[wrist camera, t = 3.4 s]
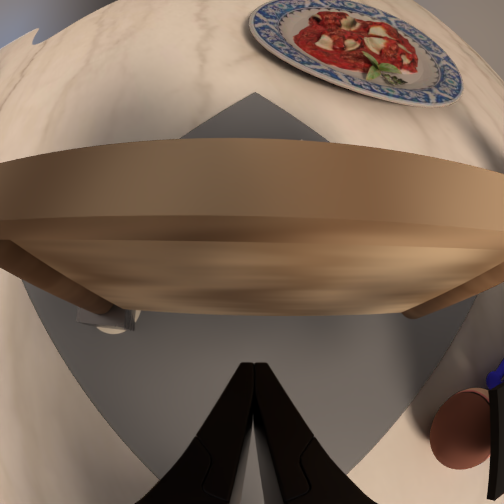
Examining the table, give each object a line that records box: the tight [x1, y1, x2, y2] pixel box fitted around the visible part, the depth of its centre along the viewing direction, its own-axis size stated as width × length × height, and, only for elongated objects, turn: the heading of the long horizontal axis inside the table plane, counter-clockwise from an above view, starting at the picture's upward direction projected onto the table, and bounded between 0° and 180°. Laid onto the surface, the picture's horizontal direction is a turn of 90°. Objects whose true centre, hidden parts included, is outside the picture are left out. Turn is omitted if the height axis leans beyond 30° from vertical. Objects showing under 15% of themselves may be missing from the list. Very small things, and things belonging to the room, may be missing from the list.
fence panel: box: [0, 138, 504, 319], centre depth 9 cm, size 18×2×11 cm, turn 89°
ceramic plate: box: [249, 0, 464, 108], centre depth 26 cm, size 26×26×3 cm
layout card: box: [22, 92, 477, 504], centre depth 17 cm, size 23×23×1 cm
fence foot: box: [76, 304, 136, 331], centre depth 16 cm, size 3×3×2 cm
